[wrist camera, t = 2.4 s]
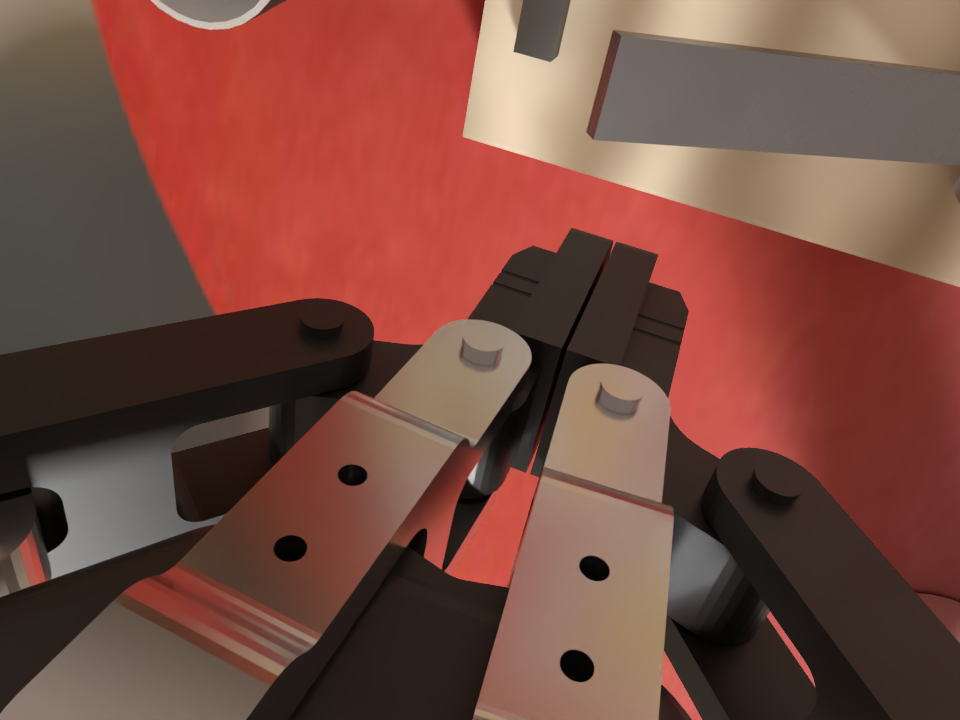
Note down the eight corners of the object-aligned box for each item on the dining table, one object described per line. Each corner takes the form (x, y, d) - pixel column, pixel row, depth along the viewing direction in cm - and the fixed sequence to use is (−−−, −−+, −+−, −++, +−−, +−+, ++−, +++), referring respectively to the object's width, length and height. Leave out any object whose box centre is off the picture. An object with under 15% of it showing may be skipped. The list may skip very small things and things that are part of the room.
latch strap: (1026, 79, 27) (1040, 85, 26) (978, 160, 29) (991, 167, 28) (613, 29, 22) (621, 36, 21) (586, 132, 24) (593, 140, 23)
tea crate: (1182, -69, 28) (1289, -47, 22) (985, 244, 36) (1023, 324, 30) (561, -203, 32) (505, -217, 26) (502, 103, 40) (448, 148, 34)
